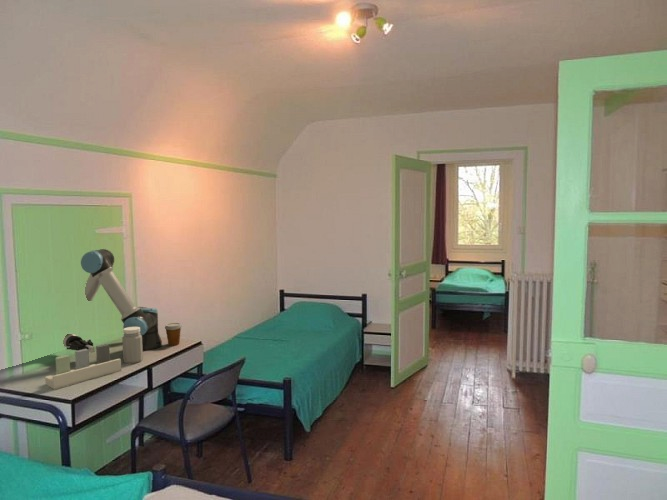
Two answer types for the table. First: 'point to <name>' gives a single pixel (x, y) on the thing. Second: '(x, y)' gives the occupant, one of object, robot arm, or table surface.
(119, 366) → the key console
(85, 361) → the key slate
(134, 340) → the jar
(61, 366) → the key sage
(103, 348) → the key charcoal
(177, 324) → the disposable coffee cup
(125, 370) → the table surface
